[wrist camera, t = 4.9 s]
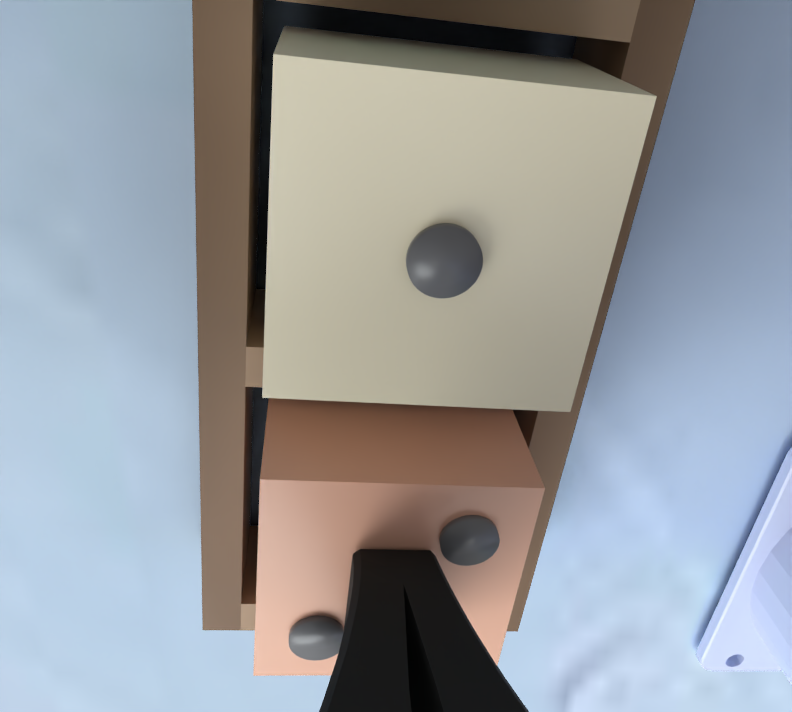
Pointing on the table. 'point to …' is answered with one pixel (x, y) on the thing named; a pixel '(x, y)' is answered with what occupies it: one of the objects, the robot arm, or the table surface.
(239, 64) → the tile tray
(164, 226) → the table surface
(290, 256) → the tile one
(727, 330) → the table surface
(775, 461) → the table surface
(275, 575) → the tile three
